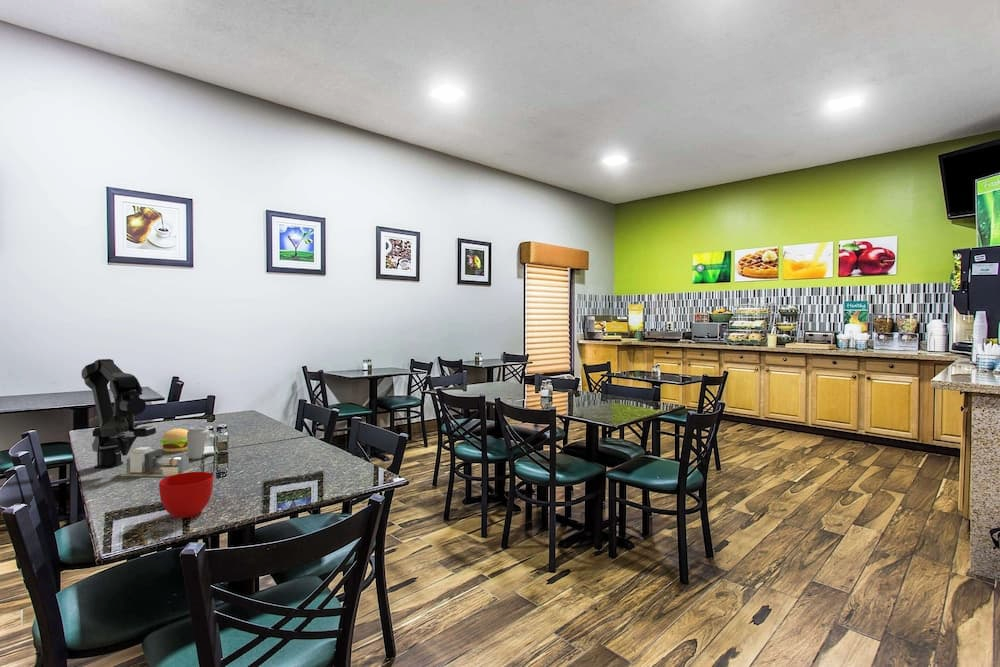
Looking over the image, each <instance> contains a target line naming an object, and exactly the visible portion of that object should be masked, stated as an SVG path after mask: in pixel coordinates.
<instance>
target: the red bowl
mask: <svg viewBox="0 0 1000 667" xmlns="http://www.w3.org/2000/svg"><path fill="white" fill-rule="evenodd" d="M213 488H214V474H213V473H211V472H208V471H191V472H190V471H189V472H187V473H181V474H176V475H172V476H169V477H163V478H162V479H161V480H160V481H159V482H158V489H159V490H158V491H159V498H160V501H161V504H162V506H163V508H164V509H165V510H166V512H167V513H169V514H170V515H171V516H172V517H173V518H174V519H175V518H176V519H187V518H192V517H195V516H197V515H200V513H202V511H203V510H204V509H205V507H206V506H207V505H208V503H209V502H210V500H211V497H212V494H213Z"/></svg>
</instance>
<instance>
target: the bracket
mask: <svg viewBox="0 0 1000 667" xmlns="http://www.w3.org/2000/svg"><path fill="white" fill-rule="evenodd" d="M154 450H155V449H152V447H151V446H149V447H147V446H145V447H144V446H140V447H137V448H134V449H133V452H132V453H131V454H129V458H130V472H144V471H145V454H146V453H149V452H151V451H154ZM153 458H155V457H153Z"/></svg>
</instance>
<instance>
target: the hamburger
mask: <svg viewBox="0 0 1000 667" xmlns="http://www.w3.org/2000/svg"><path fill="white" fill-rule="evenodd" d="M188 431H189V430H188V429H184V428H173V429H171V430H168V431H166V432H165V433H164V434H163V435H162V438H160V439H159V442H160V447H161V449H162V452H166V453H179V452H184V451H187V432H188Z"/></svg>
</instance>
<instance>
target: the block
mask: <svg viewBox="0 0 1000 667" xmlns="http://www.w3.org/2000/svg"><path fill="white" fill-rule="evenodd" d="M153 450H154V451H151V452H149V453H146V454H145V473H150V472H152V471H154V470H157V469H159V468H161V467H164V465H153V457H154V458H164V456H163V449H162V448H158V449H153Z"/></svg>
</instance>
